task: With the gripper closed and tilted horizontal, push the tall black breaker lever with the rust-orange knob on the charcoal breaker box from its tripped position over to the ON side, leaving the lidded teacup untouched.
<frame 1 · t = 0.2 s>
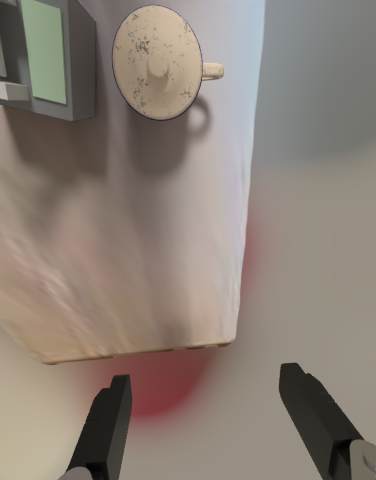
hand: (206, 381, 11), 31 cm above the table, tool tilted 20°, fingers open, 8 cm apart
teacup with lid: (170, 77, 29), on the table
breaker box: (44, 59, 26), on the table
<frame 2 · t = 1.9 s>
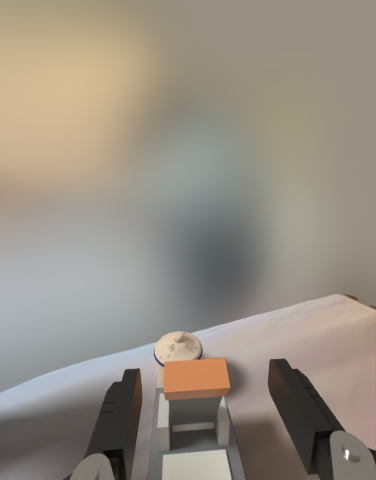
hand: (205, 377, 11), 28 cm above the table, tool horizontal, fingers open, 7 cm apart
teacup with lid: (177, 380, 43), on the table
breaker lever: (193, 401, 22), point 17 cm above the table, hinge at -25.0°
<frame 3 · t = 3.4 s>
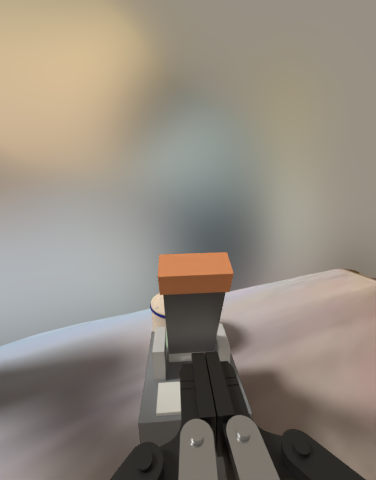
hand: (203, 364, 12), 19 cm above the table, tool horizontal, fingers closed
teacup with lid: (175, 339, 42), on the table
breaker box: (191, 423, 26), on the table
breaker lever: (191, 318, 20), point 17 cm above the table, hinge at -25.0°
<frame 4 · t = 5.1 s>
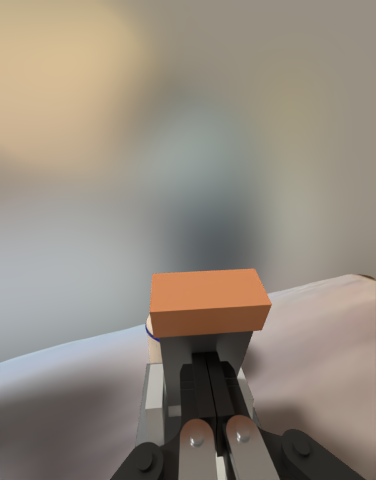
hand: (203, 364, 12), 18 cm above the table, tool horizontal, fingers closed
teacup with lid: (175, 362, 35), on the table
breaker lever: (200, 361, 14), point 17 cm above the table, hinge at -23.1°, touching gripper
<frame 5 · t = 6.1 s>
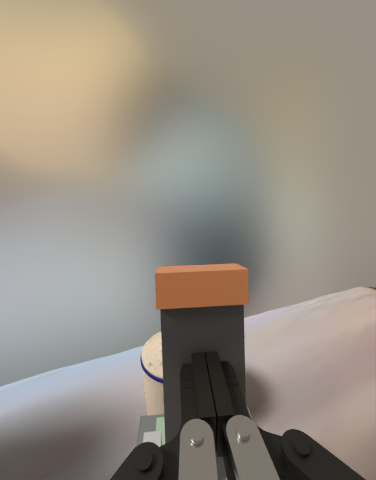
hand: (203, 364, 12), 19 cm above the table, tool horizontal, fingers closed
teacup with lid: (175, 397, 31), on the table
breaker lever: (203, 385, 13), point 17 cm above the table, hinge at 10.2°, touching gripper
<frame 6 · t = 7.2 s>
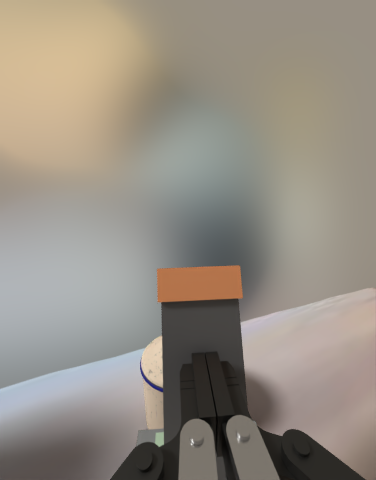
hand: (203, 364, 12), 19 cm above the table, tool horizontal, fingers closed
teacup with lid: (176, 404, 29), on the table
breaker lever: (203, 389, 13), point 17 cm above the table, hinge at 23.8°, touching gripper
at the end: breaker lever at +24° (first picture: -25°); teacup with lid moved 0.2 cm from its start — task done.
